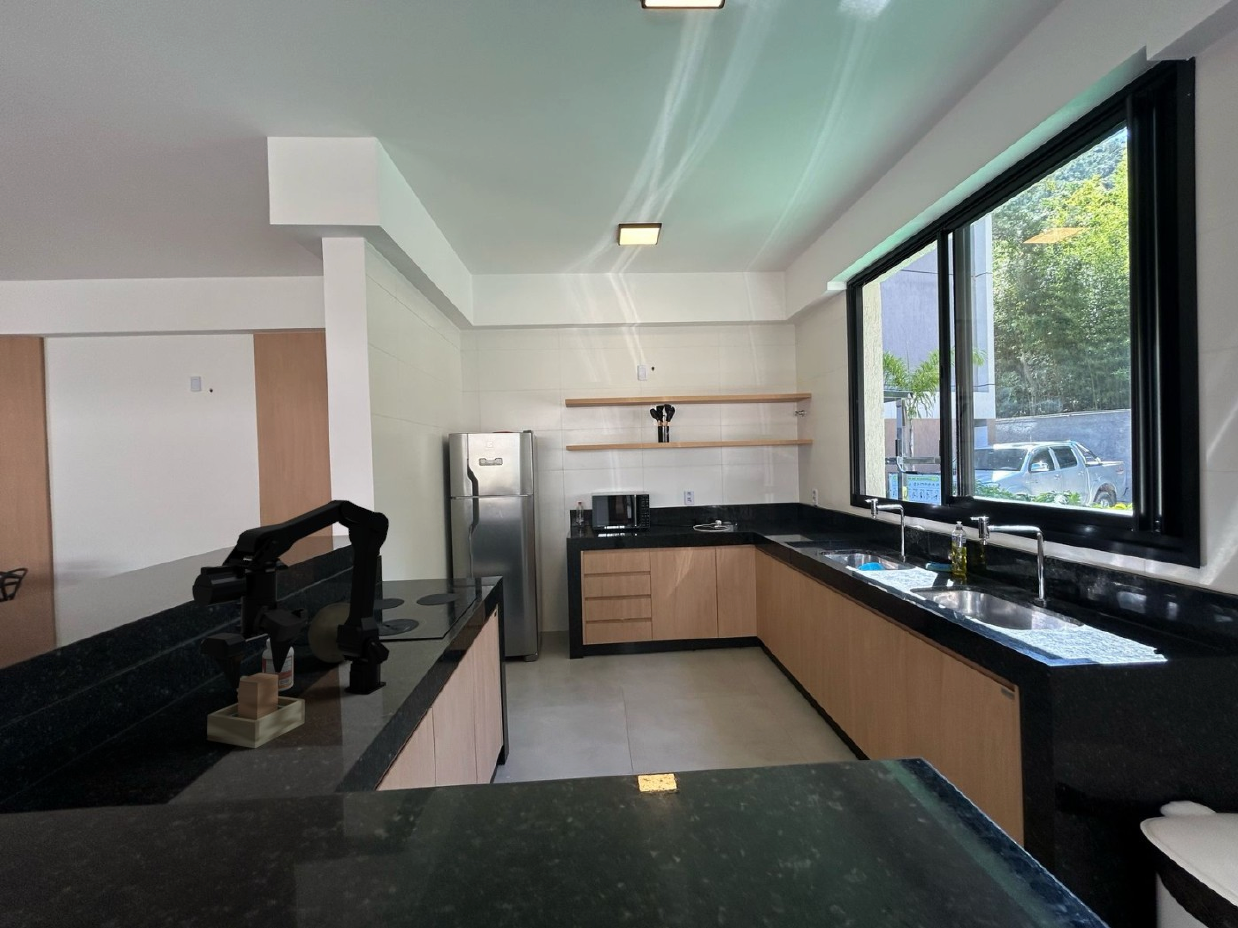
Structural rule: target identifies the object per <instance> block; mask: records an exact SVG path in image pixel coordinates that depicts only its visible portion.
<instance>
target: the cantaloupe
mask: <svg viewBox="0 0 1238 928" xmlns="http://www.w3.org/2000/svg"><path fill="white" fill-rule="evenodd" d="M349 611H350V602H334V603H330V604H328V605H326V606H325V607H323V608H321V609H319V610H318V612H316V613H315V614H314V617H313V618H312V620H311V623H310V626H309V627H308V633H307V634H308V638H307V639H308V643H309V644H308V645H309V646H310V649H311V651H312V653H313V655H314V656H315V657H316V658H317V659H319V660H321V661H322V662H325V663H328V664H337V663H342V662H343V661H345V660H344V658H343V655H342V653H341V652H340V651H339V650H338V643H335V642H336V639H337V627H338V625H339V624H344V623H345V621H346V620H347V618H348V617H349Z"/></svg>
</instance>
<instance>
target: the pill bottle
mask: <svg viewBox="0 0 1238 928" xmlns="http://www.w3.org/2000/svg"><path fill="white" fill-rule="evenodd" d="M266 647H267V648H266V649H265V650H264V651H263V652H262V657H261V658H262V659H261V661H262V662H261V663H262V664H261V666H262V669H261V670H262V671H261V673H266V674H274V675H278V693H279V692H283V691H286V690H289V689H291V687H293V686H294V683H295V682H294V677H295V676H294V669H295V666H294V664H295V663H294V661H295V659H294V657H295V651H294V647H292V646H291V648H290V650H289V652H288V655H287V657H286V660H285V663H284V665H283V668H282V671H281V672H280V673H277V672H275V669H274V666H273V659H272V652H271V646H270V639H269V638H268V639H266Z"/></svg>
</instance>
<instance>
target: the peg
mask: <svg viewBox="0 0 1238 928" xmlns="http://www.w3.org/2000/svg"><path fill="white" fill-rule="evenodd" d="M278 696H279V692H278V675H274V674H266V673H262V672H257V673H255V674H252V675H250V676H249V675H248V677H246V678H244V679H241V680H240V683H239V688H238V692H237V703H238V718H245V719H251V720H257V719H260V718H262V717H264V716H266V715H268V714H270V713H273V712H275V711H277V710H278Z"/></svg>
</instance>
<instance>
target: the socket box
mask: <svg viewBox="0 0 1238 928" xmlns="http://www.w3.org/2000/svg"><path fill="white" fill-rule="evenodd" d="M305 701H306V699H303V698H295V697H289V696H279V695H278V710H277V711H275V712H273V713H270V714H268V715H266V716H264V717H262V718H260V719H257V720H251V719H245V718H238V702H236V703H233V704H231V705H229V706H226V707H224V708H221V709H219V710H216V711H214V712H212V713H209V714H207V724H206V725H207V730H206V734H207V735H206V740H207V741H211V742H216V743H222V744H228V745H234V746H240V747H246V748H252V749H256V748H258V747H260V746H262V745H264V744H267V743H269V742H270V741H272V740H274V739H277V738H278V737H279V736H282V735H284V734H286V733H287V732H290V731H292V730H294V729H295V728H298V727H300V726H301V725H304V724H305V705H306V704H305V703H306V702H305Z"/></svg>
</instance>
